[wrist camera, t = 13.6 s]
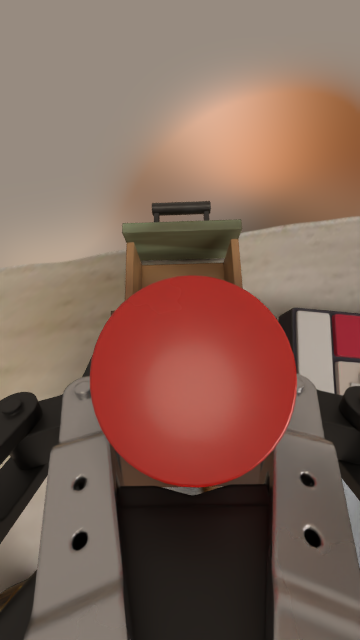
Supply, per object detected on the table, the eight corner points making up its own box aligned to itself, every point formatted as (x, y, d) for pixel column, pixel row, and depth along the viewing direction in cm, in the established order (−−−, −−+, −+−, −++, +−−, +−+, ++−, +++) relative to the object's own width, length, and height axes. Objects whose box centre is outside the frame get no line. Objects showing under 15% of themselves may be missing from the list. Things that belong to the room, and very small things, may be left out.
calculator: (444, 421, 26) (297, 408, 25) (405, 416, 30) (279, 404, 30) (428, 317, 28) (294, 304, 28) (395, 325, 32) (278, 314, 32)
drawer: (134, 225, 35) (123, 190, 29) (228, 222, 35) (238, 186, 28) (131, 360, 31) (117, 354, 24) (239, 357, 30) (253, 350, 24)
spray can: (220, 344, 17) (308, 246, 5) (224, 417, 16) (352, 525, 4) (151, 346, 17) (71, 253, 5) (151, 418, 16) (45, 528, 4)
